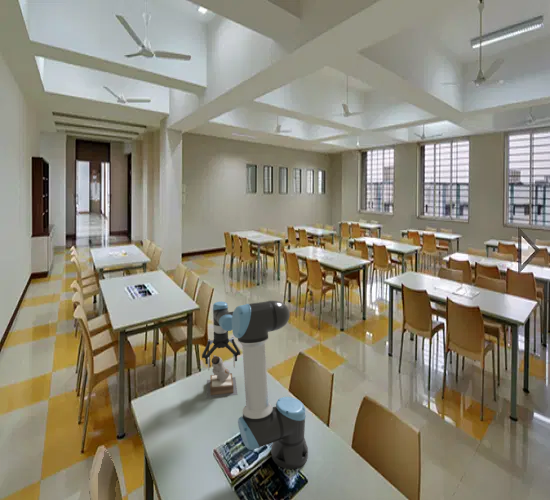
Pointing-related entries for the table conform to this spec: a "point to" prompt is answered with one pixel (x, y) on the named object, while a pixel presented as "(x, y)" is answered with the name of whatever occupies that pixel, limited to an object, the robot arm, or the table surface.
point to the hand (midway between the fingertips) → (221, 367)
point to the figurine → (219, 368)
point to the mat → (222, 394)
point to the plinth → (221, 385)
